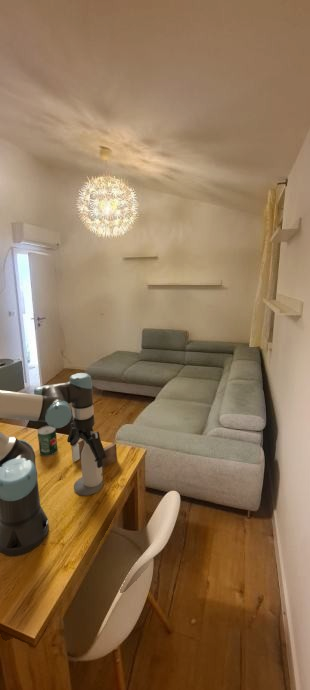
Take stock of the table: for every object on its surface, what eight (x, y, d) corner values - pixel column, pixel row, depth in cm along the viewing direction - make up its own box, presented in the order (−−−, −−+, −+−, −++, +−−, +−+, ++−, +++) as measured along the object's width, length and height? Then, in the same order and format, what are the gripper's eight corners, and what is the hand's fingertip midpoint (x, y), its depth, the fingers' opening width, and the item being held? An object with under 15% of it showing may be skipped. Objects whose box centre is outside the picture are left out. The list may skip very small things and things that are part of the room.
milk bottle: (100, 488, 112) (97, 440, 108) (80, 488, 112) (76, 440, 108) (104, 474, 120) (101, 429, 115) (85, 474, 120) (82, 429, 115)
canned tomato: (39, 449, 139) (36, 427, 137) (56, 444, 143) (54, 424, 140) (40, 458, 132) (38, 435, 130) (58, 453, 136) (56, 431, 133)
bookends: (95, 474, 121) (94, 456, 119) (72, 459, 131) (71, 443, 129) (116, 460, 130) (116, 443, 128) (94, 447, 140) (93, 432, 138)
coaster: (85, 500, 107) (85, 498, 107) (68, 486, 114) (67, 485, 114) (108, 483, 115) (108, 482, 115) (90, 472, 122) (90, 471, 122)
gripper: (114, 421, 103) (117, 475, 108) (71, 403, 118) (75, 450, 123) (97, 430, 97) (101, 486, 102) (55, 409, 113) (59, 459, 118)
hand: (87, 466), depth 113 cm, fingers open, 13 cm apart
